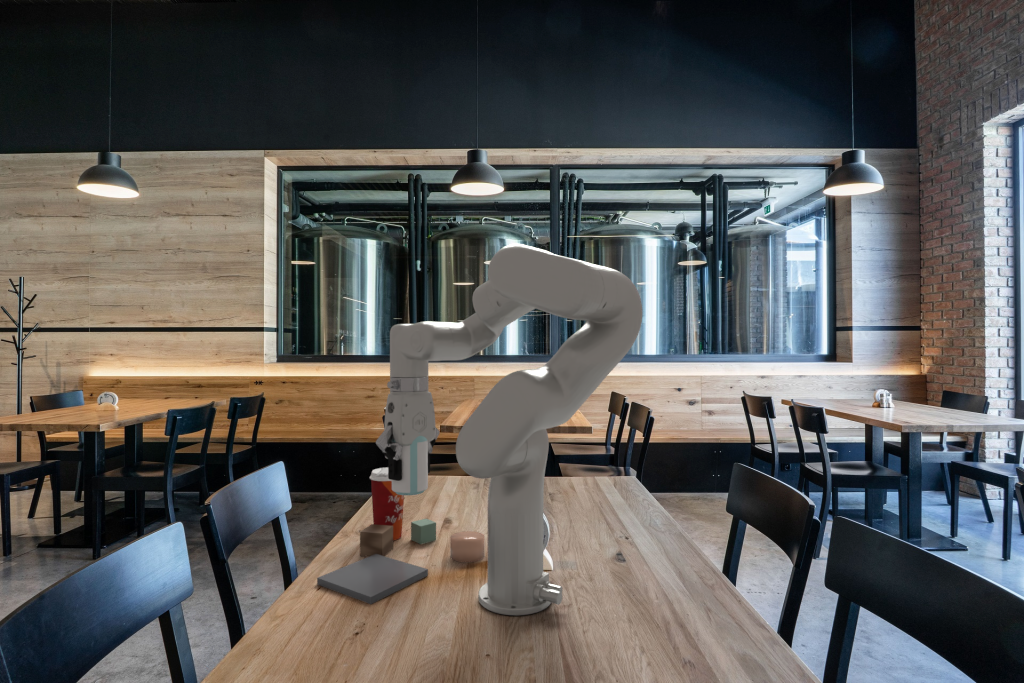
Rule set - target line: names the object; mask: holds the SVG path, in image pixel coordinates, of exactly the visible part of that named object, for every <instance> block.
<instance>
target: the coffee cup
mask: <svg viewBox="0 0 1024 683" xmlns="http://www.w3.org/2000/svg"><path fill="white" fill-rule="evenodd" d="M369 480H370V481H371V482H370V483H371V501H372V503H371V504H372V522H373V524H375V525H388V526H393V542H394V541H397V540H398V539H401V538H402V533H403V522H404V521H403V520H404V506H405V505H404V504H405V502H404V501H405V495H398V494H396V492H394V491H393V490H392V480H391V479H389V478H388V466H387V467H379V468H375V469H372V471H371V474H370V476H369Z"/></svg>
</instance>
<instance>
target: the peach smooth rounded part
mask: <svg viewBox="0 0 1024 683" xmlns="http://www.w3.org/2000/svg"><path fill="white" fill-rule="evenodd" d="M485 538H486V537H485V534H483V533H482V532H480V531H471V530H470V531H469V530H467V531H466V530H464V531H460V532H455V533H453V534H452V535H450V538H449V539H450V545H449V548H450V551H449V553H450V556H449V557H450V559H451V560H453V561H454V562H459V563H474V562H479V561H481V560H482V559H484V557H485V548H486V547H485Z"/></svg>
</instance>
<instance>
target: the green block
mask: <svg viewBox="0 0 1024 683" xmlns="http://www.w3.org/2000/svg"><path fill="white" fill-rule="evenodd" d="M410 540H412V542H415V543H417V544H419V545H423V544H427V543H431V542H435V541H437V522H436V521H433V520H432V519H431V520H430V519H428V518H422V519H418V520H413V521H411V522H410Z"/></svg>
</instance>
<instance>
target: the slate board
mask: <svg viewBox="0 0 1024 683" xmlns="http://www.w3.org/2000/svg"><path fill="white" fill-rule="evenodd" d="M428 576H429V569H428V568H426V567H422V566H419V565H415V564H412V563H409V562H405V561H402V560H398V559H395V558H391V557H388V556H386V555H385V556H382V555H378V554H374V555H372V556H366V557H365V558H362V559H359V560H358V561H355V562H352V563H350V564H348V565H346V566H342V567H340V568H338V569H335V570H333V571H330V572H328V573H326V574H323V575H320V576H318V577H316V582H317V583H316V585H318V586H321V587H323V588H325V589H328V590H331V591H334V592H336V593H340V594H342V595H345V596H347V597H350V598H353V599H355V600H359V601H360V602H361V601H362V602H364V603H367V604H369V605H373V604H374V603H377V602H378V601H381V600H382V599H384V598H386V597H388V596H390V595H392V594H395V593H396V592H398V591H400V590H402V589H404V588H406V587H408V586H410V585H412V584H414V583H416V582H418V581H420V580H423V579H424V578H426V577H428Z"/></svg>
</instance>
